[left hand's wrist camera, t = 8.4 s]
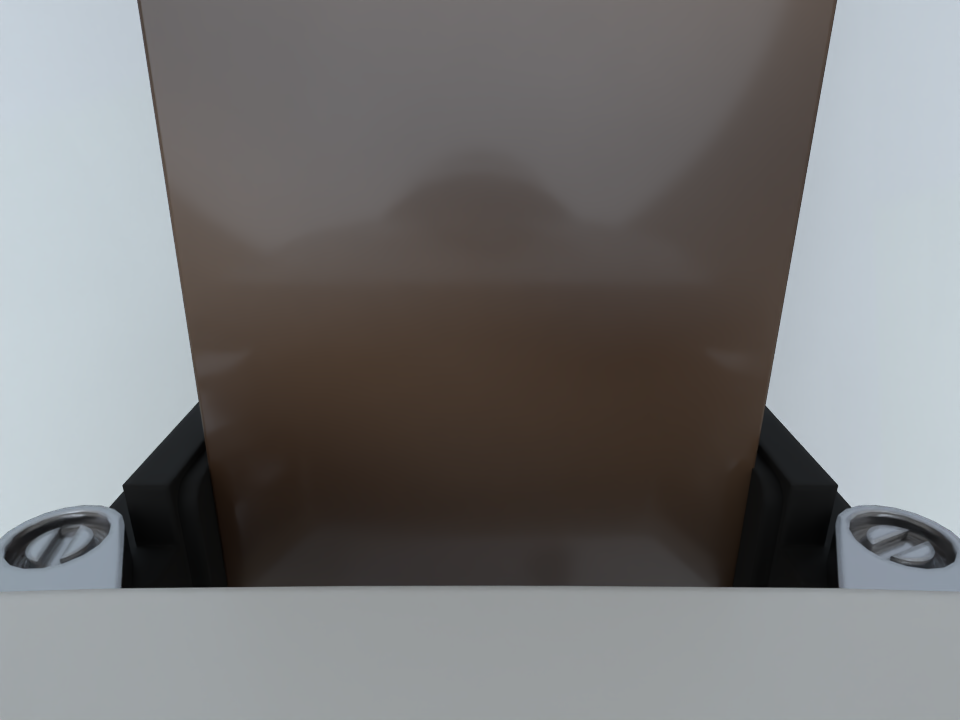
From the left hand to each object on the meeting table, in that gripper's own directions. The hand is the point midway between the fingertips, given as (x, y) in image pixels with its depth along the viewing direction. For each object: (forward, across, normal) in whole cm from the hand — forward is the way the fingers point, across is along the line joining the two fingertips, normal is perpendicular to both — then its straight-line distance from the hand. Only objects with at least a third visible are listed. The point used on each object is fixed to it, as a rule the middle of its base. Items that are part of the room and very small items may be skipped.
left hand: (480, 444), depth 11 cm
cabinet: (+7, 0, -6) cm, 9 cm away
